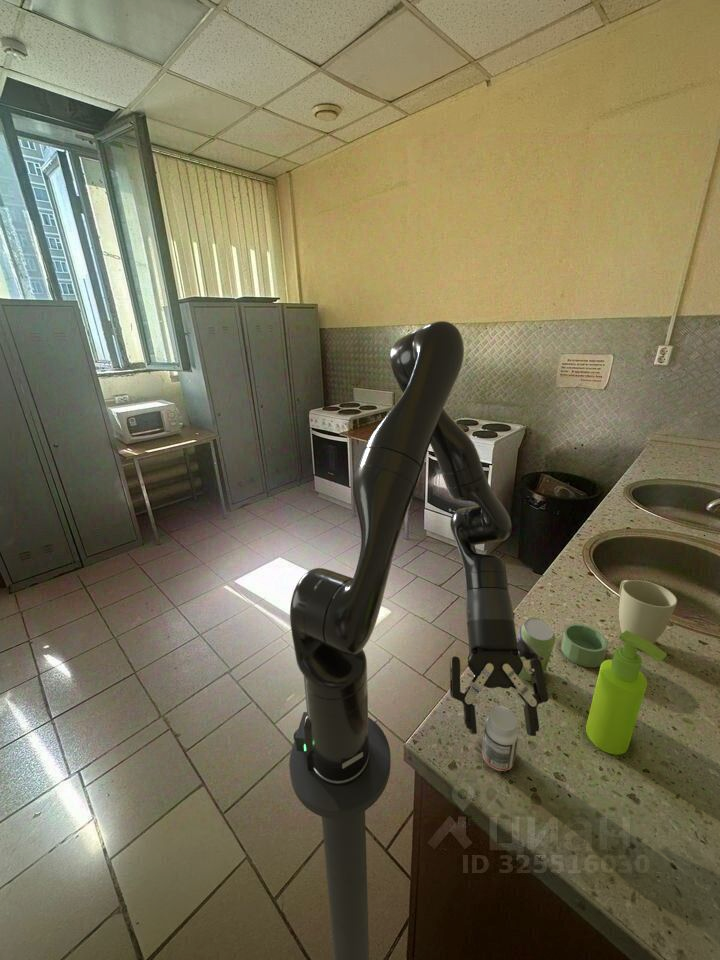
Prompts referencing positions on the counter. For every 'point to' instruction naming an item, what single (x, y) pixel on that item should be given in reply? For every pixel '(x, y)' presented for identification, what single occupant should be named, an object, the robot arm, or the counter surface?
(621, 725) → the soap dispenser
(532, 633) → the beverage can
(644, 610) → the mug
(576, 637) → the holder
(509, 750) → the pill bottle
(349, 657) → the robot arm
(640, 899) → the counter surface
